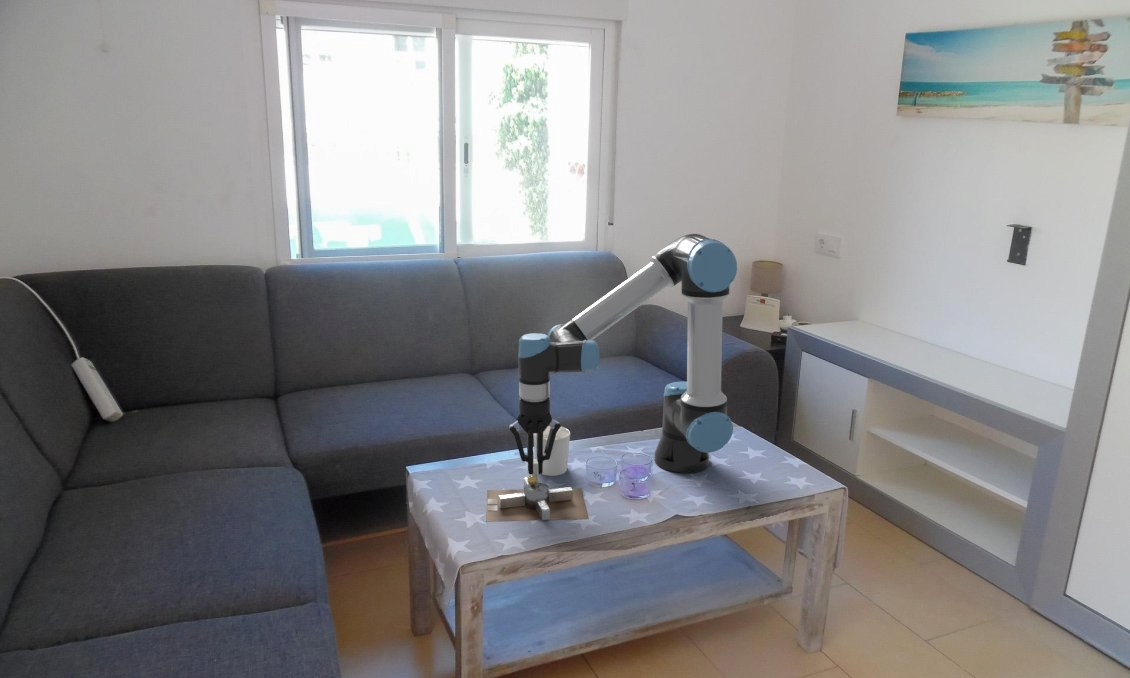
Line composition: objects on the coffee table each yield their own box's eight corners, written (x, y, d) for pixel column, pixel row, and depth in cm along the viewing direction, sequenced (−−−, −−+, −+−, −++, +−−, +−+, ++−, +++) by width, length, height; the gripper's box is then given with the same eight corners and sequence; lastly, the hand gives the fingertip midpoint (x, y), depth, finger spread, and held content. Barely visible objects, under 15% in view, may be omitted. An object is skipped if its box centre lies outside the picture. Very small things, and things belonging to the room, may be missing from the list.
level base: (581, 493, 198) (581, 487, 198) (588, 524, 183) (588, 518, 182) (487, 495, 196) (487, 489, 196) (486, 527, 181) (486, 520, 180)
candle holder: (565, 483, 204) (566, 441, 200) (529, 479, 205) (529, 437, 202) (572, 468, 213) (573, 427, 210) (537, 464, 215) (538, 424, 212)
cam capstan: (561, 482, 200) (561, 459, 198) (582, 515, 183) (583, 490, 182) (492, 490, 195) (492, 467, 193) (508, 525, 178) (508, 500, 177)
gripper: (557, 390, 194) (557, 476, 200) (506, 393, 192) (508, 480, 198) (563, 400, 187) (562, 489, 193) (510, 403, 185) (511, 493, 191)
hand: (535, 485), depth 196 cm, fingers closed
